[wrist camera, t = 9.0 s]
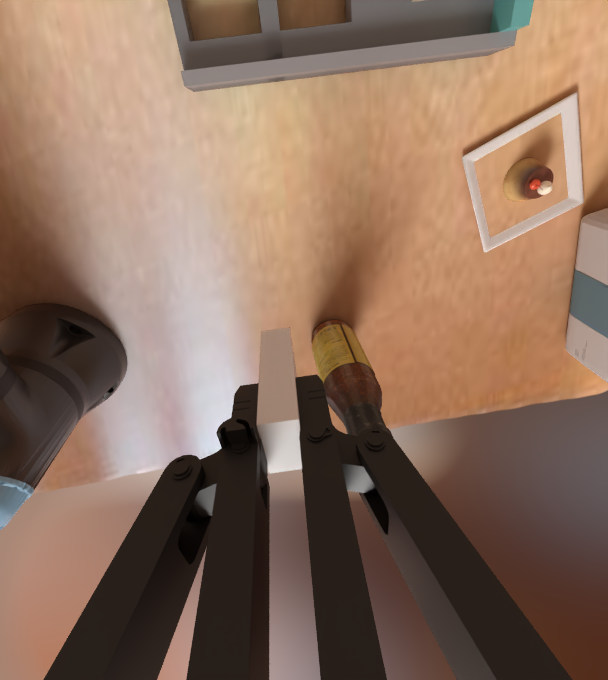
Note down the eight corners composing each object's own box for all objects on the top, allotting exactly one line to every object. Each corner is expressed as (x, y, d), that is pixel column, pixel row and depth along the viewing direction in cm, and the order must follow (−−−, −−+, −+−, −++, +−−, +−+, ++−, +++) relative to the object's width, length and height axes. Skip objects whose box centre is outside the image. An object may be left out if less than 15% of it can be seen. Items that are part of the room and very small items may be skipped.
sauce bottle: (305, 351, 47) (324, 470, 31) (316, 313, 44) (344, 422, 27) (348, 358, 49) (389, 476, 32) (362, 321, 46) (415, 430, 29)
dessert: (456, 156, 36) (480, 159, 32) (569, 92, 34) (609, 86, 30) (479, 250, 42) (501, 262, 38) (576, 201, 40) (611, 208, 36)
